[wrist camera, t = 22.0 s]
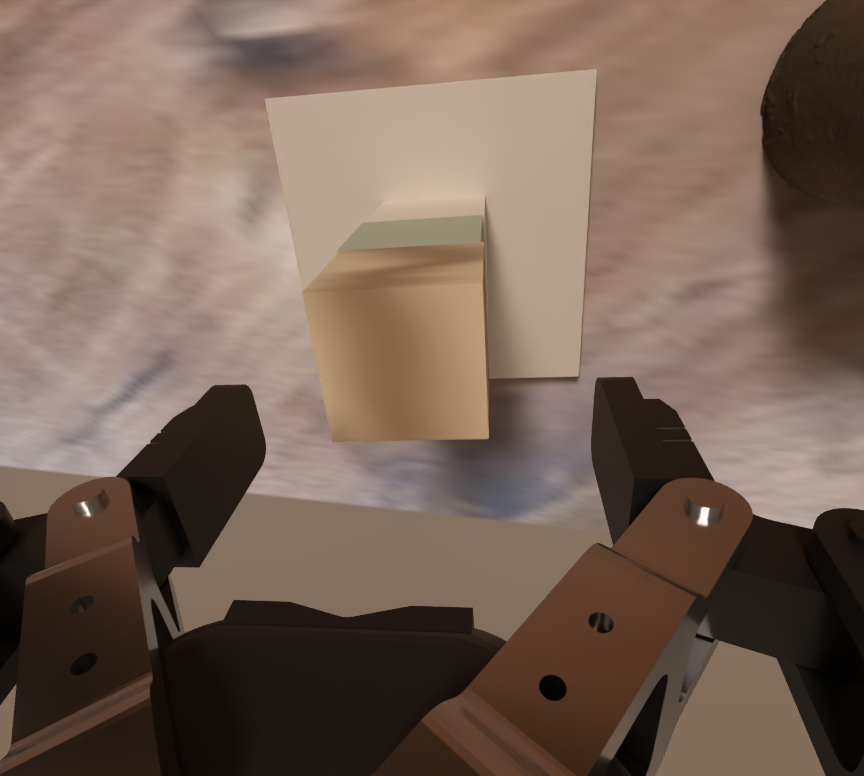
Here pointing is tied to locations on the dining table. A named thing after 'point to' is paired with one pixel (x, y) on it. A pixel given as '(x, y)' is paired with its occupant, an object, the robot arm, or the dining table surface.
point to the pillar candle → (820, 106)
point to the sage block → (416, 233)
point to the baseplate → (459, 190)
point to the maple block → (402, 342)
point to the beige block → (435, 215)
